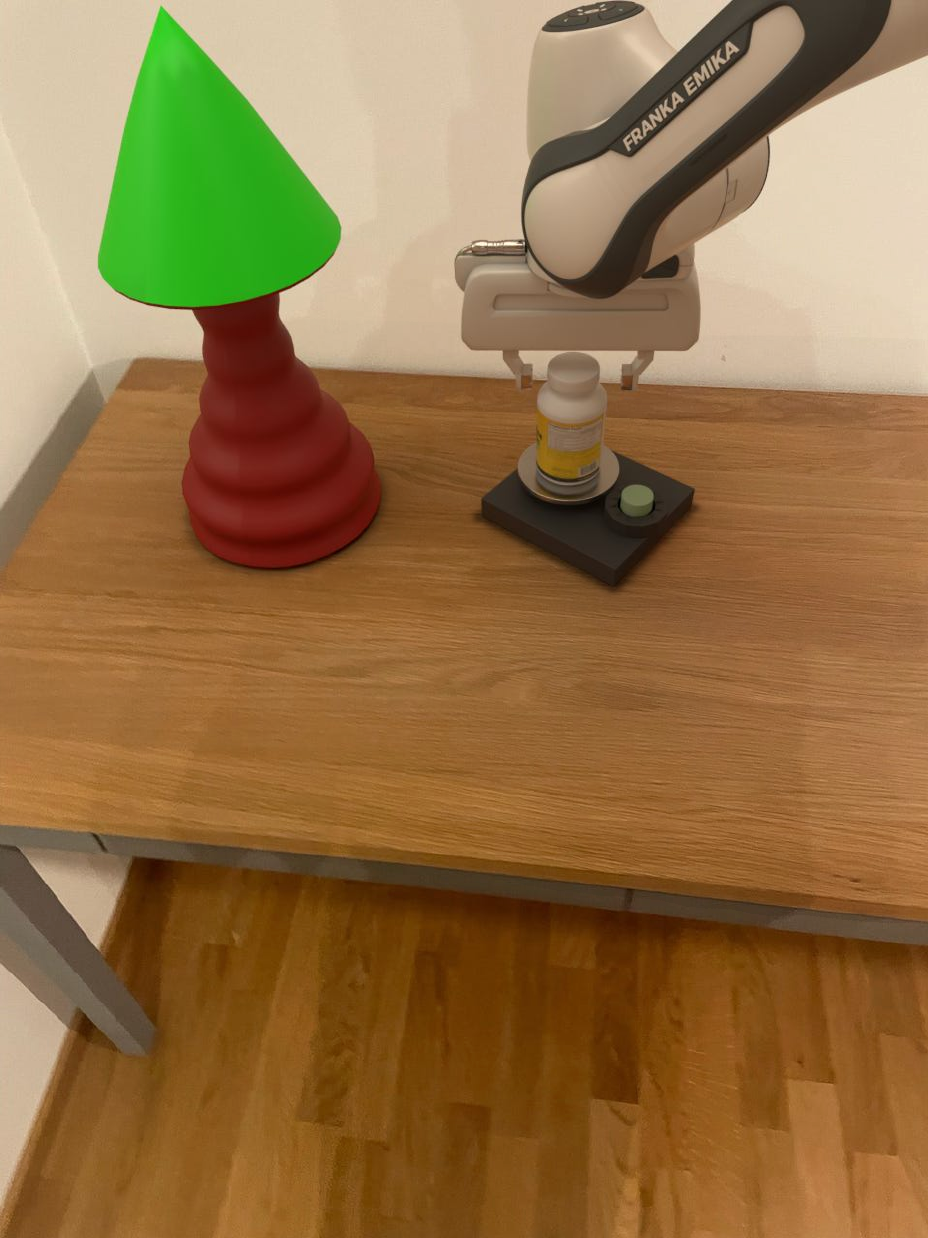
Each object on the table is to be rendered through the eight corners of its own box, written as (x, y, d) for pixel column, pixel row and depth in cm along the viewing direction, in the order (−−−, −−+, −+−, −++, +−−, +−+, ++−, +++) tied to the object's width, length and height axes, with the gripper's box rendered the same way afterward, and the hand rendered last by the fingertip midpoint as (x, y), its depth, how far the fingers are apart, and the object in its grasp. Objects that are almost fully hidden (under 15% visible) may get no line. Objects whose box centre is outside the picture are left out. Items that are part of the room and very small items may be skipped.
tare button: (658, 505, 88) (659, 492, 87) (640, 522, 87) (642, 510, 86) (631, 492, 90) (633, 480, 89) (614, 508, 88) (615, 496, 87)
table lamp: (158, 556, 92) (-53, 52, 58) (236, 433, 104) (99, -42, 70) (347, 585, 88) (239, 65, 54) (404, 454, 101) (346, -37, 67)
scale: (695, 508, 93) (701, 477, 90) (617, 589, 86) (621, 559, 83) (563, 445, 100) (564, 415, 97) (481, 516, 94) (480, 486, 91)
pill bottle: (560, 438, 94) (565, 337, 85) (614, 462, 91) (624, 360, 82) (522, 471, 91) (522, 370, 82) (576, 498, 88) (583, 396, 79)
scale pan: (638, 464, 92) (639, 459, 91) (580, 519, 87) (580, 515, 87) (557, 426, 96) (557, 422, 96) (497, 477, 91) (496, 472, 91)
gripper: (448, 260, 73) (459, 406, 83) (714, 258, 71) (691, 408, 81) (456, 222, 77) (465, 365, 87) (708, 219, 75) (686, 366, 85)
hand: (576, 386), depth 84 cm, fingers open, 8 cm apart
